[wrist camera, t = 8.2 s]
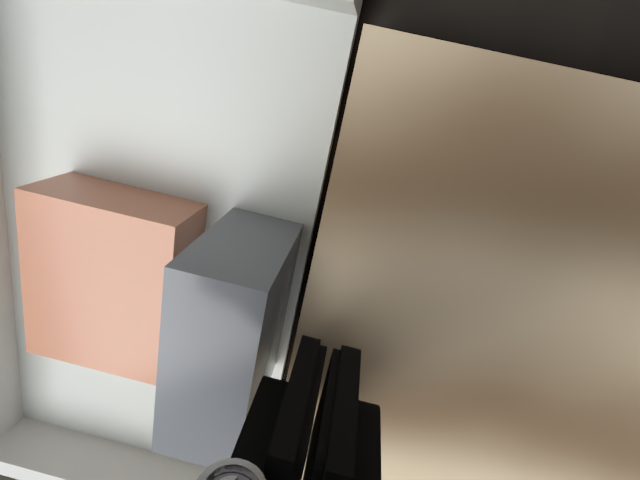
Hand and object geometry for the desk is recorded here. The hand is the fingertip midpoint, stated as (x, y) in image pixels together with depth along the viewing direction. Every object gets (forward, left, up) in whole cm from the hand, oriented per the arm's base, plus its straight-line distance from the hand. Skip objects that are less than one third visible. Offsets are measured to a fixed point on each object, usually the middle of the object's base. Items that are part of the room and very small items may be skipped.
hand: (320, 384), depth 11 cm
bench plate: (0, +6, -5) cm, 8 cm away
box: (0, -7, -5) cm, 8 cm away
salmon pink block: (0, -8, -2) cm, 8 cm away
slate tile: (0, -2, -2) cm, 2 cm away
